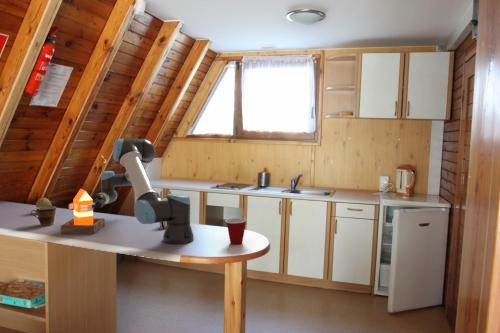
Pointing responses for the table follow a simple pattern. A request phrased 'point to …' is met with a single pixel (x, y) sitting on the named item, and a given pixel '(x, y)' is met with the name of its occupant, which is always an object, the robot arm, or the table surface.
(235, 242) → the plastic cup
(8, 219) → the table surface
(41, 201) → the natural sponge
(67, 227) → the tray
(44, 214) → the ceramic cup
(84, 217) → the orange juice
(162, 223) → the hinge
